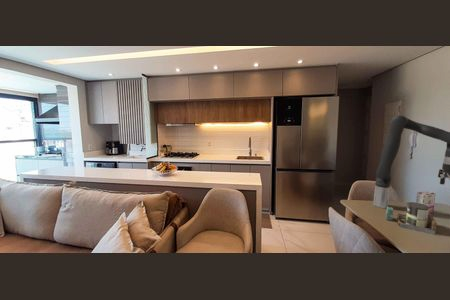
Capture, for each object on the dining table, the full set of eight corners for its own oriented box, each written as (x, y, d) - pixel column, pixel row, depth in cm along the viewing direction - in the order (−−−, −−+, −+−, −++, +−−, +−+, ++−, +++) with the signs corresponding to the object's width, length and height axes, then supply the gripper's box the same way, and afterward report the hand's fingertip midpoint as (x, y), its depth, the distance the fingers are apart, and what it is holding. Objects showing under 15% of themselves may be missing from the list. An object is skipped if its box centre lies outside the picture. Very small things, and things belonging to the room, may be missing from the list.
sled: (387, 222, 132) (388, 211, 131) (385, 214, 144) (386, 204, 143) (435, 233, 118) (436, 221, 117) (428, 222, 130) (430, 211, 129)
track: (399, 226, 127) (400, 223, 127) (396, 216, 141) (396, 212, 141) (434, 234, 117) (435, 231, 117) (427, 222, 132) (427, 218, 132)
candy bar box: (425, 210, 149) (428, 190, 147) (433, 213, 144) (436, 193, 142) (414, 212, 147) (416, 192, 144) (422, 215, 142) (424, 194, 140)
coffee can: (405, 225, 129) (407, 205, 127) (405, 219, 136) (407, 201, 134) (427, 230, 122) (429, 210, 120) (426, 224, 129) (429, 205, 127)
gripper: (436, 161, 136) (432, 182, 139) (453, 165, 123) (449, 189, 125) (449, 161, 135) (445, 183, 137) (468, 166, 121) (463, 190, 123)
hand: (447, 186), depth 131 cm, fingers open, 8 cm apart
